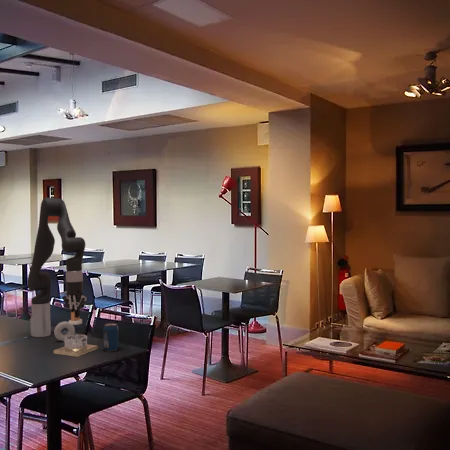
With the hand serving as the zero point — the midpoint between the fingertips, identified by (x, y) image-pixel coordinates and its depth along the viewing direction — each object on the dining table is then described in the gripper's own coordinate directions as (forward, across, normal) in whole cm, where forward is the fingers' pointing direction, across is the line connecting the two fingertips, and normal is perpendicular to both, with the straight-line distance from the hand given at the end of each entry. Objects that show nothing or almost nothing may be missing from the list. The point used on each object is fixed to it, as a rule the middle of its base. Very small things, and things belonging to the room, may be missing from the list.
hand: (75, 317), depth 238 cm
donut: (+16, +18, -13) cm, 27 cm away
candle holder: (+16, 0, 0) cm, 16 cm away
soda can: (+16, -14, -8) cm, 23 cm away
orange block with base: (+3, 0, 0) cm, 3 cm away
